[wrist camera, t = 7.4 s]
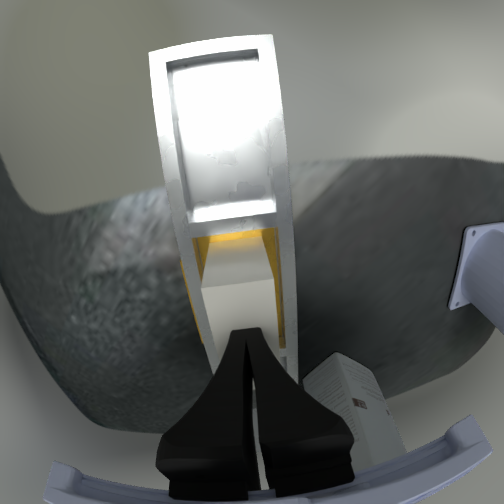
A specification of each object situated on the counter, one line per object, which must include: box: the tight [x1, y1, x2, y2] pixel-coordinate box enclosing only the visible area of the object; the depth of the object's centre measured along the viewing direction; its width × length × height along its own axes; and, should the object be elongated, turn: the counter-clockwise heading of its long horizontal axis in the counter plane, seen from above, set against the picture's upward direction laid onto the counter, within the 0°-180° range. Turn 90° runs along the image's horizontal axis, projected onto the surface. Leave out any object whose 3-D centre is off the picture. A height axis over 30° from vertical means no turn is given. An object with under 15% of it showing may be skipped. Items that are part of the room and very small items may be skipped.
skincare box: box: [303, 353, 407, 472], centre depth 17 cm, size 6×4×12 cm
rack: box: [149, 34, 298, 452], centre depth 15 cm, size 6×29×6 cm, turn 6°
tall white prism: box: [201, 236, 281, 390], centre depth 15 cm, size 3×7×5 cm, turn 6°
